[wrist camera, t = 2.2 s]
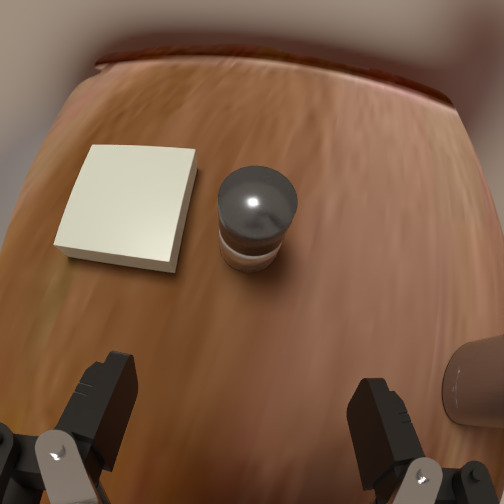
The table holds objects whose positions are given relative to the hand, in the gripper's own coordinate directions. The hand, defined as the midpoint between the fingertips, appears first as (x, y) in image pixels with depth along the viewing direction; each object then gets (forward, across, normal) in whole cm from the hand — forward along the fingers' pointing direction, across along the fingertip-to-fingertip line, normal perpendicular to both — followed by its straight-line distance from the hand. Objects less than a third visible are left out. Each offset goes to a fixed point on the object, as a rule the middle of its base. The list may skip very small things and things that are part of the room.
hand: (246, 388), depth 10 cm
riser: (+20, +12, +1) cm, 23 cm away
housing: (+18, 0, +2) cm, 18 cm away
